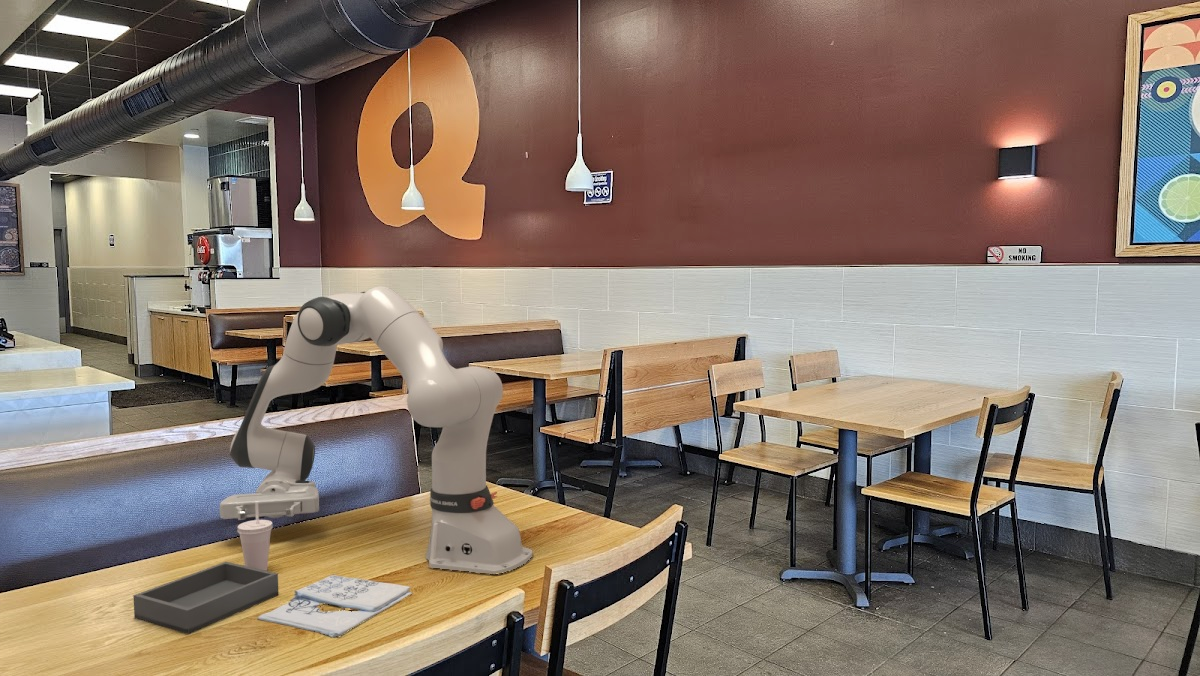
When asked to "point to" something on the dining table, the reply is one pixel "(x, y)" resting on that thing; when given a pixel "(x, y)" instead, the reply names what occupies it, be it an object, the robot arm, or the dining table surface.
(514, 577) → the dining table surface
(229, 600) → the tray
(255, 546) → the smoothie
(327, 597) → the folded bicycle print cloth
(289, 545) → the dining table surface
